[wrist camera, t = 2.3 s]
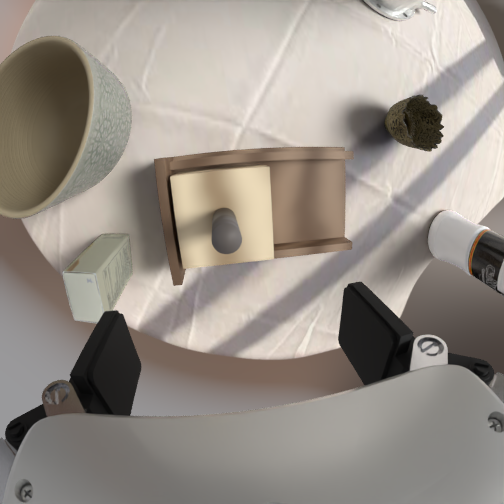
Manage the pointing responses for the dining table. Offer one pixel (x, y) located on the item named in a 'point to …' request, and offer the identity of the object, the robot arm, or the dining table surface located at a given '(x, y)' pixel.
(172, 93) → the dining table surface
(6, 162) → the planter
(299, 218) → the bay
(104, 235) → the skincare box
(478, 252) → the vodka
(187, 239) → the drawer front with knob
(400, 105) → the olive hollow rounded container
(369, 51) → the dining table surface
